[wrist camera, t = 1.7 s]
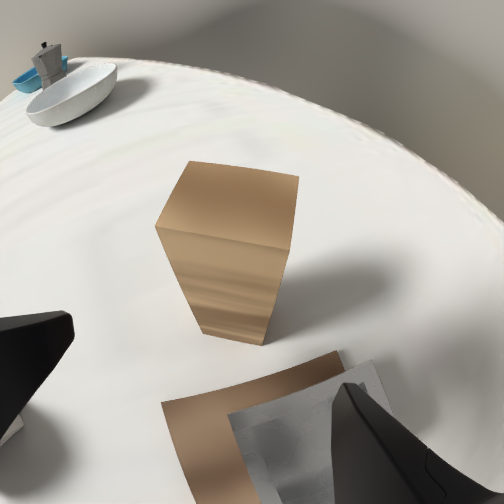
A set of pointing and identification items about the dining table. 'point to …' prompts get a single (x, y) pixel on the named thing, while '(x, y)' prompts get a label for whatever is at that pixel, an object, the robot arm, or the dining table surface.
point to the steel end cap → (297, 439)
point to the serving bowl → (72, 95)
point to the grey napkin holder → (12, 429)
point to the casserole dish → (33, 79)
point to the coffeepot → (49, 64)
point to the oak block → (229, 244)
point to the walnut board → (221, 434)
